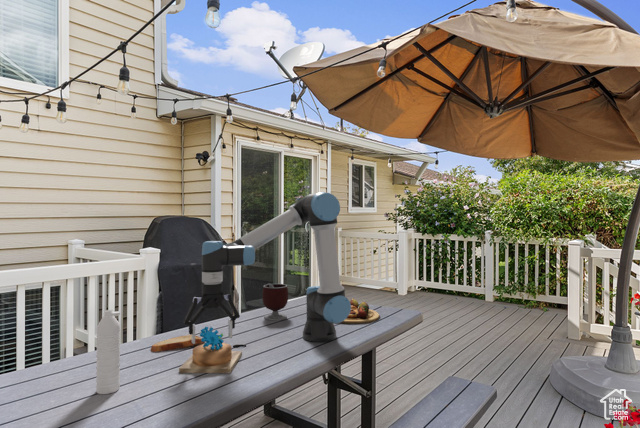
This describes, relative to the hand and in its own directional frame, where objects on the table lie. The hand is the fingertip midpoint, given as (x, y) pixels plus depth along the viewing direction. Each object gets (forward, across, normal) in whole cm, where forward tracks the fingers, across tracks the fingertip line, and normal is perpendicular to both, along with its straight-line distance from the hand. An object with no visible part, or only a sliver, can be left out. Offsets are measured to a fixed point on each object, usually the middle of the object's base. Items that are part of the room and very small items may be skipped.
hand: (212, 340), depth 147 cm
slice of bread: (+9, -8, +27) cm, 30 cm away
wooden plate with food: (+9, +83, +34) cm, 90 cm away
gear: (+3, 0, 0) cm, 3 cm away
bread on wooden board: (+9, 0, 0) cm, 9 cm away
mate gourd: (+9, +46, +51) cm, 69 cm away
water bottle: (+9, -34, -8) cm, 36 cm away
